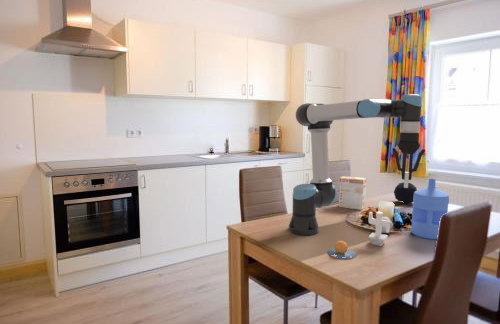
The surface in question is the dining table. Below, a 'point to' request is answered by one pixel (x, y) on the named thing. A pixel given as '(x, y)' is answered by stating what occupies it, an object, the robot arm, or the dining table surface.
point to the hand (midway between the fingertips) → (405, 187)
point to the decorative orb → (405, 193)
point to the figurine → (378, 228)
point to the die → (384, 226)
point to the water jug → (428, 210)
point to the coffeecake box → (352, 192)
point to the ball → (341, 247)
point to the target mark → (346, 254)
